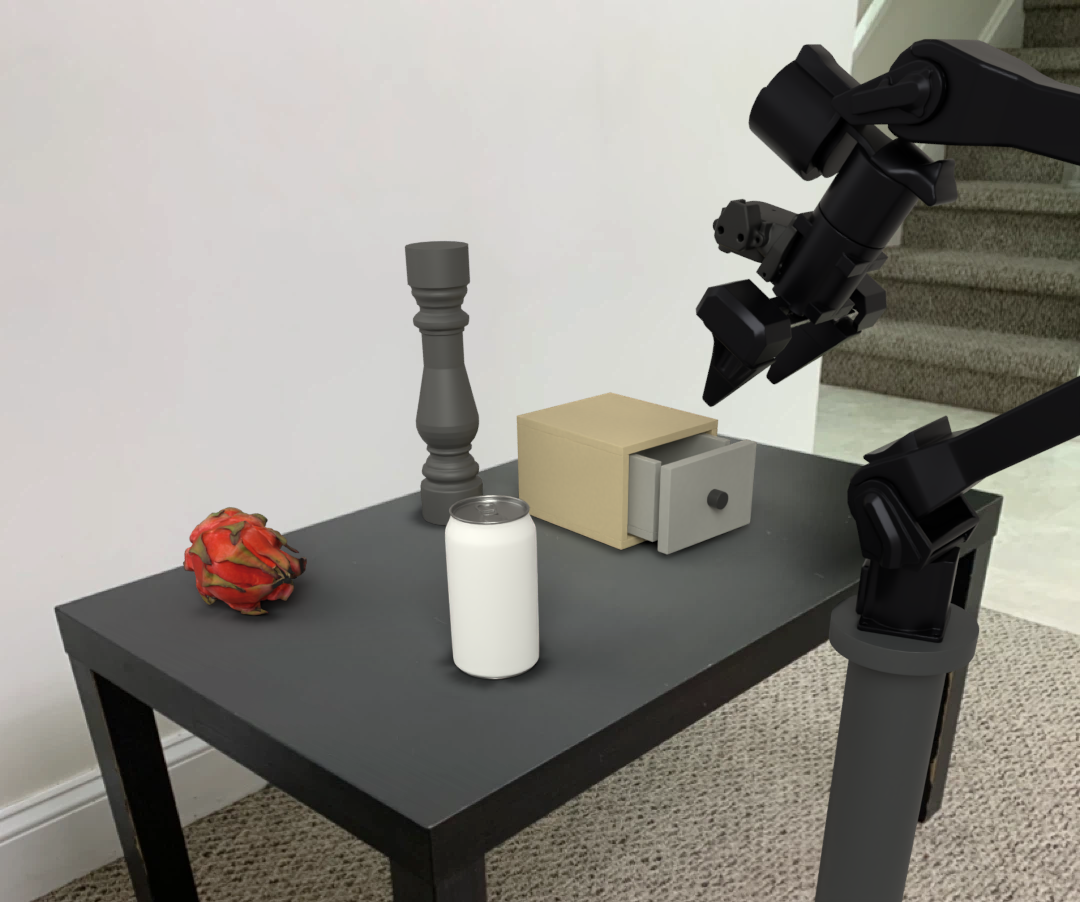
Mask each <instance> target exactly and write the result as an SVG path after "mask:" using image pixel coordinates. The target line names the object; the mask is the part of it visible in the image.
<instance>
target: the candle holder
mask: <svg viewBox="0 0 1080 902" xmlns="http://www.w3.org/2000/svg"><path fill="white" fill-rule="evenodd" d="M469 251H470V250H469V243H468V242H464V241H457V240H456V241H455V240H432V241H431V240H429V241H420V242H418V241H417V242H412V243H409V244H406V245H405V246H404V255H405V268H406V269H405V270H406V281H407V286H409V287H410V289H411V290H410V294H411V296H412V297H413V298H414V300H415V303H416V305H417V306H418V307H419V311H418V312H416V314H414V315H413V317H412V323H413V326H414V327H415V328H417V329H418V332H419V333H420V334H421V335H420V336H421V346H422V347H421V349H422V361H423V362H422V363H423V367H422V375H421V382H420V389H419V397H418V404H417V409H416V417H415V428H416V430H417V433H418V435H419V437H420V438H421V440H422V441H423V442H424V443H425V444H426V448H425V449H426V451H427V452H428V453H429V455H428V456H427V458H426V459H425V462H424V463H423V464H422V467H421V474H422V476H423V477H424V478H423V479H422V480H421V482H420V485H419V487H420V499H421V512H422V514H421V515H422V518H423V519H424V521H426V522H427V523H429V524H430V523H431V524H433V525H438V526H445V527H446V526H447V524H448V521H449V519H450V516H451V515H450V513H449V509H450V507H451V506H452V505H453V504H454V503H456V502H458V501H460V500H463V499H466V498H470V497H475V496H483V495H484V490H483V489H484V487H483V486H484V485H483V479H482V478H481V477H479V476H478V474H479V473H480V463H478V462H477V461H476V460H475V459H476V458H475V457H474V455H473V454H471V453H470V452H471V450H472V448H473V444H472V442H473V441H474V440H475V438H476V436H477V434H478V432H479V427H480V414H479V411H478V407H477V404H476V400H475V396H474V393H473V390H472V386H471V381H470V379H469V375H468V371H467V367H466V365H465V348H464V332H465V329H466V328H465V327H467V326H468V325H469V323H470V314H468V313H467V312H466V311H465V310H463V309H462V305H463V304H464V302H465V301H464V300H465V297H466V296H467V294H468V290H469V289H468V285H470V283H471V273H470V272H471V270H470V252H469Z"/></svg>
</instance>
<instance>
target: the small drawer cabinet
mask: <svg viewBox="0 0 1080 902" xmlns="http://www.w3.org/2000/svg"><path fill="white" fill-rule="evenodd" d="M718 428H719V419H718V418H713V417H710V416H705V415H701V414H697V413H694V412H690V411H686V410H682V409H677V408H673V407H671V406H666V405H662V404H658V403H655V402H650V401H646V400H642V399H638V398H634V397H630V396H626V395H622V394H618V393H615V392H611V391H610V392H606V393H602V394H598V395H593V396H590V397H586V398H581V399H578V400H573V401H569V402H566V403H561V404H559V405H554V406H550V407H546V408H542V409H537V410H534V411H530V412H526V413H522V414H518V415H516V441H517V442H516V443H517V472H518V474H517V475H518V477H517V478H518V498H519V499H521V500H523V501H525V502H527V503H528V505H529V506H530V510H529V514H530V516H531V517H535V518H538V519H539V520H543V521H545V522H547V523H550V524H553V525H556V526H558V527H559V528H560V527H561V528H563V529H565V530H568V531H571V532H573V533H576V534H578V535H581V536H583V537H586V538H588V539H591V540H594V541H597V542H599V543H602V544H605V545H607V546H610V547H612V548H615V549H618V550H619V551H620V550H625V549H627V548H630V547H633V546H636V545H639V544H641V543H644V542H647V541H648V540H646V539H643V538H641V537H638V536H635V535H632V534H630V533H627V524H628V479H629V454H632V453H635V452H638V451H642V450H645V449H648V448H652V447H655V446H658V445H662V444H665V443H669V442H672V441H675V440H679V439H682V438H685V437H689V436H692V435H695V434H699V433H706V434H710V435H714V436H717V437H718V432H719V431H718Z"/></svg>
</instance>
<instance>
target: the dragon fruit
mask: <svg viewBox="0 0 1080 902" xmlns="http://www.w3.org/2000/svg"><path fill="white" fill-rule="evenodd" d="M268 521H269V519H268V518H267V517H266V516H265V515H263V514H262V513H258V512H257V513H256V512H255V513H248V512H244V511H243V510H241V509H240V508H237V507H234V506H233V507H232V506H231V507H230V506H228V507H225V508H222V509H220V510H219V511H217V512H211V513H209V514H208V515H207V516H206V518H205V519H203V520H202V521H201V522H199V523H198V524H197V525H196V526H195V527H194V528H193V530H192V531H191V532H190V535H189V537H188V540H189V542H190V543H191V546H190V547H187V548H185V550H184V554H183V556H184V559H183V560H184V561H183V562H182V566H183V570H184V571H185V572H192V573H193V572H194V576H195V587H196V589H197V592H198V594H199V595H200V597H201V598H202V600H203V601H204V603H206V604H207V605H209V606H211V605H213V604H214V603H216V602H217V601H218V600H220V601H222V602H224V603H225V604H227V605H228V606H229V607H230V608H231V609H233V610H235V611H239V612H240V614H242V615H249V616H259V615H265V614H269V613H270V612H269V611H268V610H264V609H263V608H262V607H261V601H266V600H268V601H277V600H279V599H280V600H282V601H285V602H286V601H287V600H289V597H290V596H291V594H293V592H294V591H295V584H294V581H293V580H295V579H297V578H299V577H300V576H302V575H303V574H304V573H305V572H306V569H307V565H308V560H307V557H306V556H300V558H299V557H295V556H293V555H291V554H289V553H287V552H285V551H283V550H282V547H285V548H286V549H287V550H288V551H291V552H292V553H293V554H300V551H298V549H296V548H293V547H291V546H290V545H289V544H288V539H287V537H285V536H284V535H282V534H281V532H280V531H278V530H275V529H273V528H272V527H266V526H267V523H268Z"/></svg>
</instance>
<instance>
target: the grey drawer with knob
mask: <svg viewBox="0 0 1080 902" xmlns="http://www.w3.org/2000/svg"><path fill="white" fill-rule="evenodd" d="M757 443H758V442H757V441H755V440H751V439H748V438H747V439H744V440H740V441H737V442H736V441H735V442H734V443H731V439H729V438H724V437H721V436H718V435H717V436H714V435H710V434H706V433H699V434H695V435H692V436H689V437H685V438H682V439H679V440H675V441H672V442H669V443H665V444H662V445H658V446H655V447H652V448H648V449H645V450H642V451H638V452H635V453H632V454H629V479H628V524H627V533H630V534H632V535H635V536H638V537H641V538H643V539H646V540H647V541H649V542H652V543H653V542H656V541H657V552H659V553H661V554H664V555H670V554H673V553H675V552H677V551H678V552H679V551H681V550H684V549H685V548H688V547H691V546H694V545H697V544H699V543H701V542H704V541H706V540H709V539H712V538H714V537H717V536H720V535H722V534H725V533H727V532H731V531H733V530H736V529H738V528H741V527H744V526H746V525H749V524H751V516H752V505H753V492H754V481H755V470H756V469H755V467H756V457H757V445H758V444H757Z"/></svg>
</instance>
